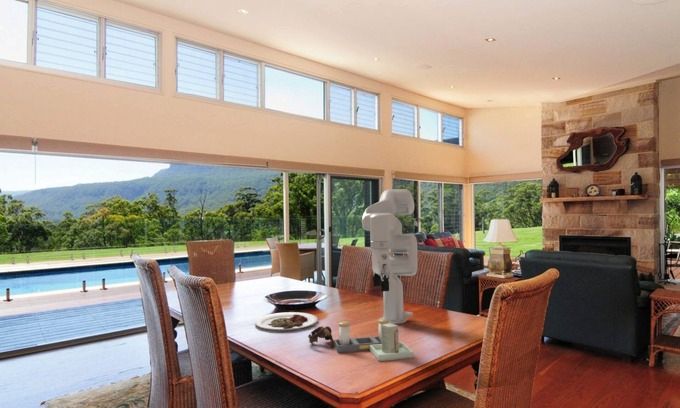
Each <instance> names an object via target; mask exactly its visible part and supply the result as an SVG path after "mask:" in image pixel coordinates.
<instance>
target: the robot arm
mask: <svg viewBox="0 0 680 408" xmlns="http://www.w3.org/2000/svg"><path fill="white" fill-rule="evenodd" d="M414 211H415V201H414V198H413V195H412V193H411V191H410V190H409V189H406V188H398V189H396V188H394V189H393V188H390V189H385V190H384V191H383V192H382V193H381V195H380V198H379V201H378V202H376V203H373V204H371V205H369V206H367V207H366V208H365V209H364V212H363V215H362V217H361V226H362V228H363V230H364V231H367V232H369V234H370V237H369V239H370V241H369V242H370V250H371V251H372V252H371V269H372V272H373V273H372V284H373V287H380V291H381V292H383V293H382V294H383V295H382V297H383V299H382V300H383V303H382V305H383V316H380V318H379V319H388V320H389V323H392V324H395V325H400V324H405V323H406V322H407V317H414V312H411V311H405V310H404V286H403V283H402V281H401V279H400V277H399V276H406V277H407V276H410V277H411V276H415V275H416V274H417V272H418V240H417V237H416V235H414V234H411V233H403V223H402V222H401V220H400V219H399V218H398V217H396V216H409V215H412V214H414ZM390 254H396V255H390ZM397 254H406V255H397Z"/></svg>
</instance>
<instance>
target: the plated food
mask: <svg viewBox="0 0 680 408" xmlns="http://www.w3.org/2000/svg"><path fill="white" fill-rule="evenodd" d="M318 319H319V318H318V317H317V316H316V315H314V314H313V313H312V314H311V313H308V312H298V311H297V312H295V311H289V312H285V311H284V312H277V313H276V312H275V313H270V314H265V315H263V316H261V317H258V318H256V319H255V321H254V324H255V326H256V327H258V328H261V329H265V330H270V331H271V330H272V331H294V330H295V331H296V330H300V329H304V328H306V327H309V326H314V325H315V324H316V323H317V322H318Z"/></svg>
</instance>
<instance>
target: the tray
mask: <svg viewBox="0 0 680 408" xmlns="http://www.w3.org/2000/svg"><path fill="white" fill-rule="evenodd" d="M369 352H370V353H371V354H372V355H373V356H374V358H376V360H377V361H378V362H384V361H392V360H393V361H394V360H405V359H406V360H407V359H413V358H414V351H413V350H412V349H410V348H409V347H408V346H407V345H406V344H405V343H404V342H403V341H402V342H401V341H400V342H399V353H390V354H387V353H385V352H383V351H382V344H376V345H370V350H369Z"/></svg>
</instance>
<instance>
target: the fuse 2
mask: <svg viewBox="0 0 680 408" xmlns="http://www.w3.org/2000/svg"><path fill="white" fill-rule="evenodd" d="M377 321H378V323H377V324H378V336H379V342H382V329H381V325H382V324H387V323H389V320H388V319H380V318H378V320H377Z"/></svg>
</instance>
